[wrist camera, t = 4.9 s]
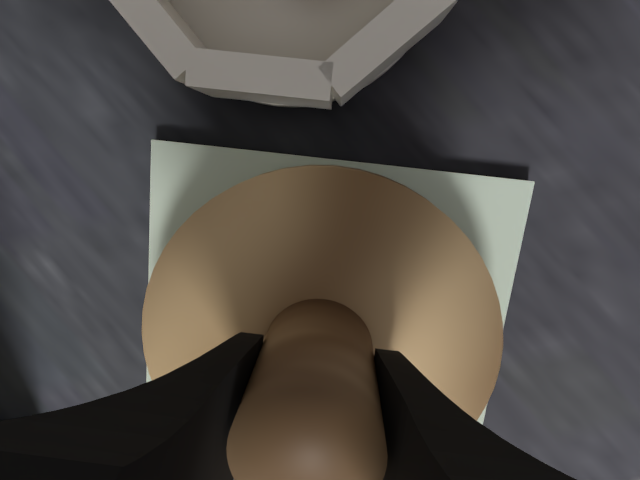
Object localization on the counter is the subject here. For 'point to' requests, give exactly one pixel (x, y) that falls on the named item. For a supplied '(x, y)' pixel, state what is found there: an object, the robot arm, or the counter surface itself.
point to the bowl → (281, 44)
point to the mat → (436, 186)
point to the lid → (324, 312)
